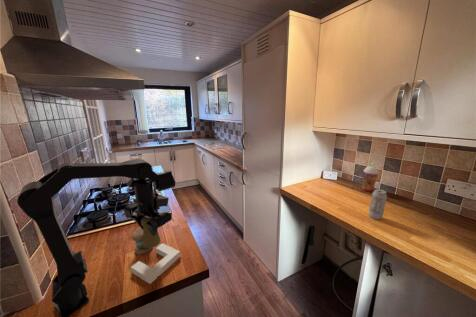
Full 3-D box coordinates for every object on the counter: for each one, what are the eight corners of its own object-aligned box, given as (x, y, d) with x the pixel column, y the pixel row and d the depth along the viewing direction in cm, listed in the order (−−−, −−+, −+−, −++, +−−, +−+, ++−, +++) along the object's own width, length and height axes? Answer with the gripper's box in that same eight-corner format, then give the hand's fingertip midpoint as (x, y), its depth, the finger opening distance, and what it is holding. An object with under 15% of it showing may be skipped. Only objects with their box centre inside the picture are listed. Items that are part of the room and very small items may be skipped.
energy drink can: (384, 219, 100) (390, 192, 96) (376, 221, 98) (381, 194, 94) (373, 213, 105) (378, 188, 101) (365, 215, 104) (370, 189, 100)
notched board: (150, 284, 65) (149, 278, 65) (131, 272, 70) (130, 267, 69) (180, 256, 77) (179, 251, 76) (163, 248, 82) (162, 243, 81)
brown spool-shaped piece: (141, 257, 77) (139, 241, 75) (131, 250, 80) (128, 235, 78) (156, 246, 83) (154, 231, 81) (145, 240, 86) (143, 226, 84)
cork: (155, 235, 77) (151, 210, 74) (163, 241, 73) (160, 215, 70) (140, 243, 72) (135, 217, 69) (148, 250, 68) (143, 223, 66)
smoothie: (357, 188, 136) (361, 161, 131) (366, 186, 138) (371, 160, 133) (368, 193, 128) (373, 164, 123) (377, 191, 131) (383, 163, 125)
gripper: (181, 191, 70) (184, 229, 74) (147, 182, 78) (151, 216, 83) (155, 205, 60) (161, 247, 65) (120, 193, 69) (126, 230, 73)
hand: (150, 233), depth 71 cm, fingers closed on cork, 4 cm apart
